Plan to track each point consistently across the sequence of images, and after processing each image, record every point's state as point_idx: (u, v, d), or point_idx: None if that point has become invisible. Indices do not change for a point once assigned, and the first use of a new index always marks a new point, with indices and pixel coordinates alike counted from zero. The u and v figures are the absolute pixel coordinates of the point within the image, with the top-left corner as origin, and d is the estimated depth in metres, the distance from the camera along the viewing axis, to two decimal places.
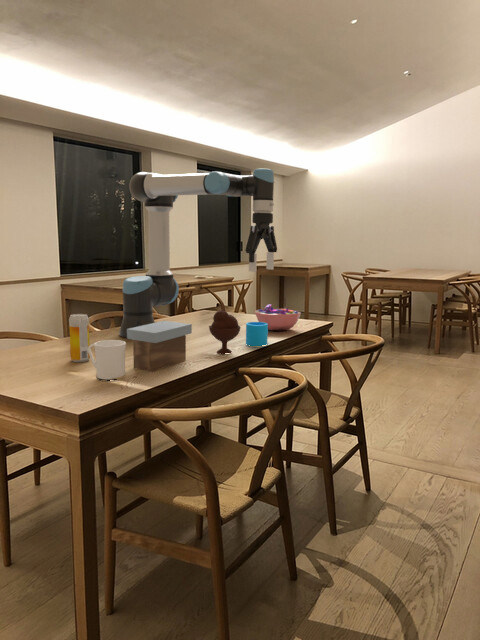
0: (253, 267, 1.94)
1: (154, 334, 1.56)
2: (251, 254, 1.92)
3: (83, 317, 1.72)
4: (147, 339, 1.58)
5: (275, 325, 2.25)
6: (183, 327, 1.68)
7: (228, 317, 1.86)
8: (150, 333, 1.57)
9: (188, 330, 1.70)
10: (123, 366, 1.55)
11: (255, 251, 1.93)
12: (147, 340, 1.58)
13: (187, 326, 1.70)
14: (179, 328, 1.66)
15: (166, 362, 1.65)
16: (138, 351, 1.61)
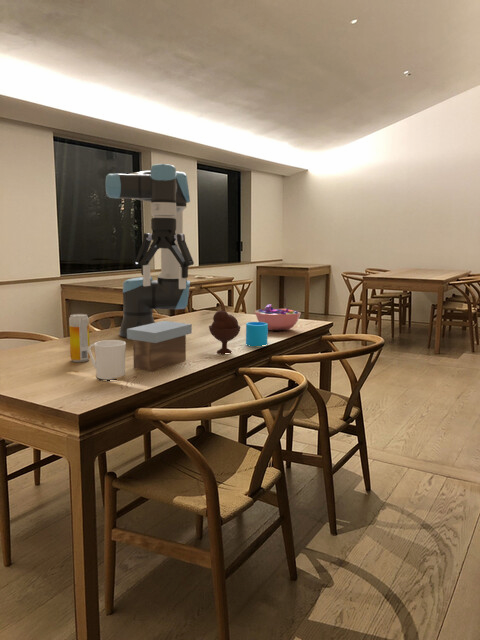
0: None
1: (154, 334, 1.56)
2: None
3: (83, 317, 1.72)
4: (147, 339, 1.58)
5: (275, 325, 2.25)
6: (183, 327, 1.68)
7: (228, 317, 1.86)
8: (150, 333, 1.57)
9: (188, 330, 1.70)
10: (123, 366, 1.55)
11: (143, 262, 1.67)
12: (147, 340, 1.58)
13: (187, 326, 1.70)
14: (179, 328, 1.66)
15: (166, 362, 1.65)
16: (138, 351, 1.61)
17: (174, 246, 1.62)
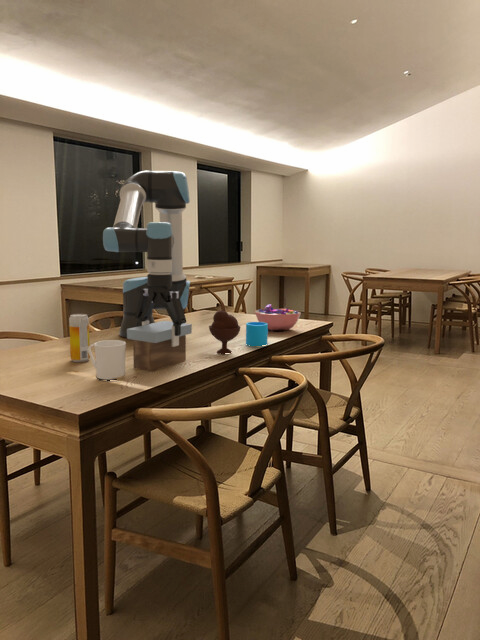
0: None
1: (154, 334, 1.56)
2: None
3: (83, 317, 1.72)
4: (147, 339, 1.58)
5: (275, 325, 2.25)
6: (183, 327, 1.68)
7: (228, 317, 1.86)
8: (150, 333, 1.57)
9: (188, 330, 1.70)
10: (123, 366, 1.55)
11: (142, 318, 1.68)
12: (147, 340, 1.58)
13: (187, 326, 1.70)
14: None
15: (166, 362, 1.65)
16: (138, 351, 1.61)
17: (169, 303, 1.64)
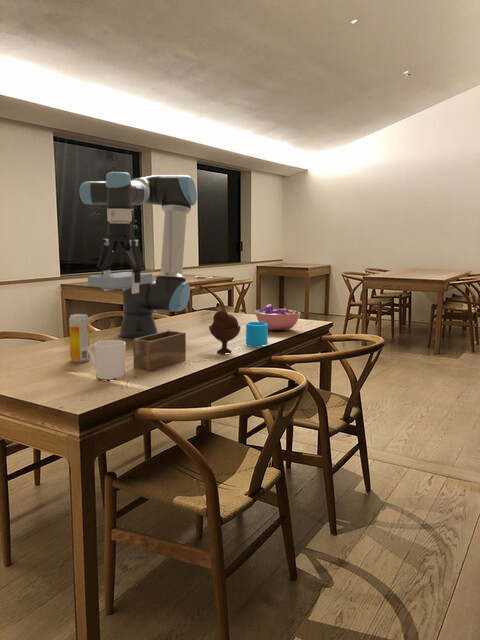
0: None
1: (113, 279, 1.62)
2: None
3: (83, 317, 1.72)
4: (106, 285, 1.64)
5: (275, 325, 2.25)
6: (143, 276, 1.74)
7: (228, 317, 1.86)
8: (109, 279, 1.63)
9: (149, 279, 1.76)
10: (123, 366, 1.55)
11: (103, 268, 1.74)
12: (107, 286, 1.64)
13: (147, 275, 1.76)
14: None
15: (166, 362, 1.65)
16: (138, 351, 1.61)
17: (129, 251, 1.69)
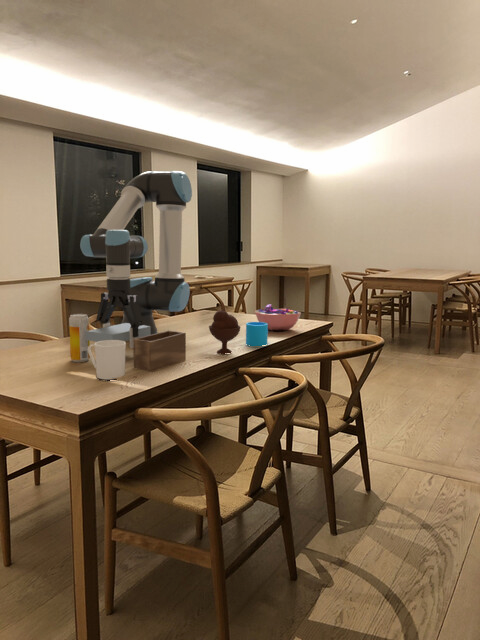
0: None
1: (111, 336, 1.65)
2: None
3: (83, 317, 1.72)
4: None
5: (275, 325, 2.25)
6: (141, 329, 1.77)
7: (228, 317, 1.86)
8: (107, 335, 1.66)
9: (147, 332, 1.79)
10: (123, 366, 1.55)
11: (103, 321, 1.77)
12: None
13: (146, 328, 1.79)
14: None
15: (166, 362, 1.65)
16: (138, 351, 1.61)
17: (127, 306, 1.73)
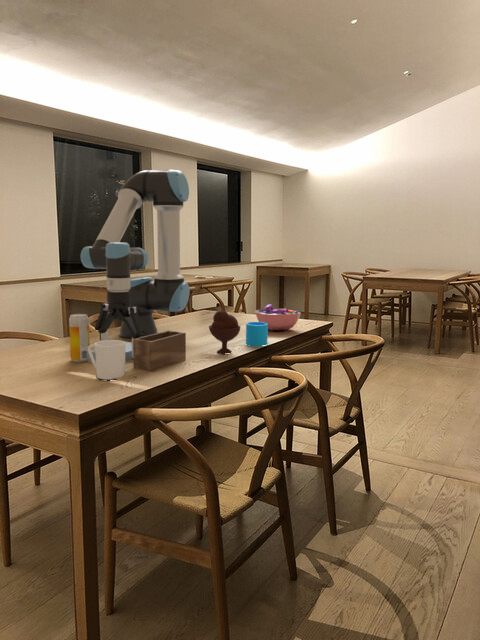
0: None
1: None
2: None
3: (83, 317, 1.71)
4: None
5: (275, 325, 2.25)
6: None
7: (228, 317, 1.86)
8: None
9: None
10: (123, 366, 1.55)
11: (101, 331, 1.78)
12: None
13: None
14: None
15: (166, 362, 1.65)
16: (138, 351, 1.61)
17: (128, 318, 1.73)
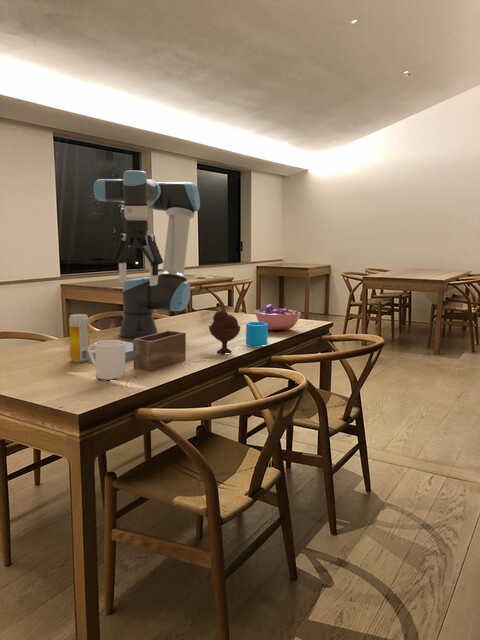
0: None
1: None
2: None
3: (83, 317, 1.72)
4: None
5: (275, 325, 2.25)
6: None
7: (228, 317, 1.86)
8: None
9: None
10: (123, 366, 1.55)
11: (119, 261, 1.81)
12: None
13: None
14: None
15: (166, 362, 1.65)
16: (138, 351, 1.61)
17: (145, 246, 1.76)
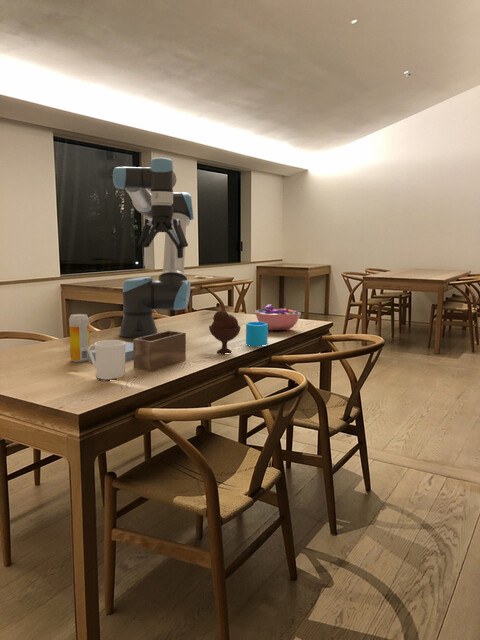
0: None
1: None
2: None
3: (83, 317, 1.72)
4: None
5: (275, 325, 2.25)
6: None
7: (228, 317, 1.86)
8: None
9: None
10: (123, 366, 1.55)
11: (144, 245, 1.90)
12: None
13: None
14: None
15: (166, 362, 1.65)
16: (138, 351, 1.61)
17: (171, 230, 1.84)
